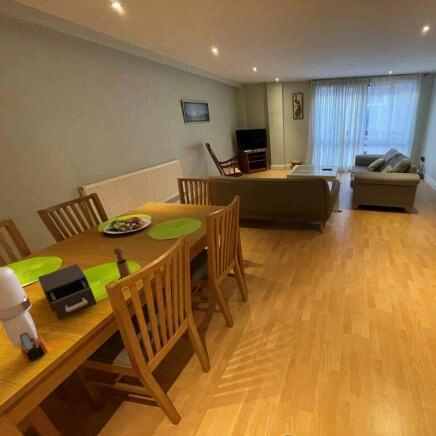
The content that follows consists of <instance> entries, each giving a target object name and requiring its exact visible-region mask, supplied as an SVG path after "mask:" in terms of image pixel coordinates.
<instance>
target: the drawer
mask: <svg viewBox="0 0 436 436" xmlns="http://www.w3.org/2000/svg"><path fill="white" fill-rule="evenodd" d="M49 293H50V295H51V297H52V300H53V302H51V305H52V307H53V309H54V313H55V315H56V317H57V319H58V321H59V322H60V321H62V320H64V319H66V318H69V317H71V316H73V315H76V314H77V313H80V312H82V311H84V310H86V309H89V308H91V307H93V306H95V305H98V303H97V300H96V297H95V295H94V293H93V290H92V288H91V286H90V287H88V288H87V286H86V284H85V283H84V281H83V280H79V281H77V282H74V283H71V284H69V285H66V286H63V287H61V288H58V289H55V290H53V291H50V292H49Z"/></svg>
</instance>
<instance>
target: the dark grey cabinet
mask: <svg viewBox="0 0 436 436" xmlns="http://www.w3.org/2000/svg"><path fill="white" fill-rule="evenodd" d="M37 278H38V281H39V283H40V286H41V289H42V291H43V294H44V296H45V298H46V300H47V302H48V304H49V306H50V308H51V310H52V312H54V313H55V311H54V309H53V307H52V305H51V302H53V300H52V297H51V295H50V293H49V292H50V291H53V290H55V289H58V288H61V287H63V286H66V285H69V284H71V283H74V282H77V281H79V280H83V281H84V283H85V284H86V286H87V288H88V287H90V288H91V286H90V283H89V281H88V279H87V278H88V277H86V274H85V273H84V271H83V270H82V269H81V268H80V266H79V264H78V263H75V264H71V265H70V266H67V267H64V268H61V269H57V270H54V271H52V272H49V273H45V274H43V275H40V276H38V277H37Z"/></svg>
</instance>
